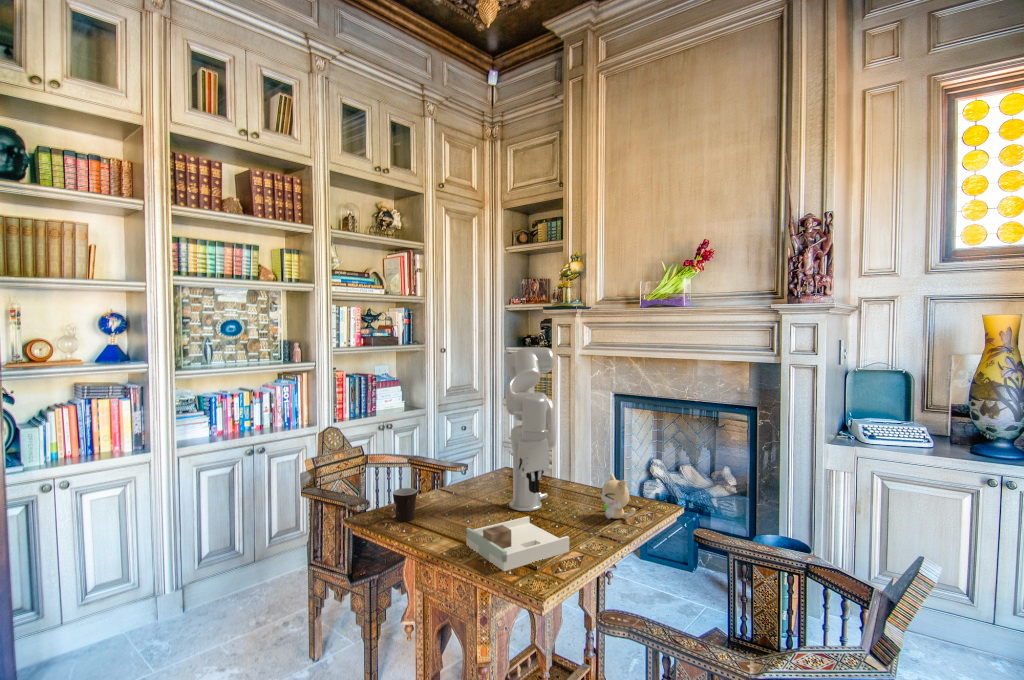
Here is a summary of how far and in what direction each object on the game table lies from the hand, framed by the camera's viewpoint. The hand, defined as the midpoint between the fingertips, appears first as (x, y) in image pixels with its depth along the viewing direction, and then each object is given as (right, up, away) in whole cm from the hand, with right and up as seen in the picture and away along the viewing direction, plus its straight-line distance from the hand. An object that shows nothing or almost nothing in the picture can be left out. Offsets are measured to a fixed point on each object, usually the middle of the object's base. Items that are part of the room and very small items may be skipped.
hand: (533, 491), depth 169 cm
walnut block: (-12, -14, -9) cm, 20 cm away
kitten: (+30, -16, +23) cm, 42 cm away
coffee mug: (-46, -17, +20) cm, 53 cm away
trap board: (-6, -17, -4) cm, 18 cm away
